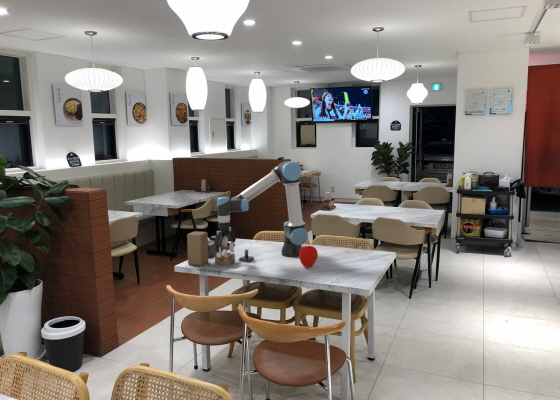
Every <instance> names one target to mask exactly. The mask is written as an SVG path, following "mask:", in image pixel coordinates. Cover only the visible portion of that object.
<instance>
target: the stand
mask: <svg viewBox="0 0 560 400" xmlns="http://www.w3.org/2000/svg"><path fill="white" fill-rule="evenodd" d="M254 260H255V257H254V256H250V255H249V249H244V256H243V255H242V256H241V257H239V258H238V262H244V263H250V262H253V261H254Z"/></svg>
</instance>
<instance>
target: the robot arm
mask: <svg viewBox="0 0 560 400" xmlns="http://www.w3.org/2000/svg"><path fill="white" fill-rule="evenodd" d="M301 175H302V170H301V167H300V165H299V164H298V163H297V162H295V161H292V160H291V161H290V160H284V161H282V162H281V163H279V164H278V165H277V166H275V167H273V169H271V172H269V173H268V174H267V175H265V176H264V177H262V178H260V179H259V180H258V181H256V182H255V183H253V184H252V185H250V186H248V187H247V188H246V189H245V190H243V191H242V192H240V193H239V194H237V195H236V196H233V197H231V199H230V197H229V196H220V197H219V196H218V197H217V199H216V208H217V227H218V229H219V230H216V232H215V238H214V241H213V247H214V248H215V249H216V250H215V251H216V254H217V257H220V258H221V252H222V248H221V244H222V242H223V239H224V238H225V237H227V239H228V240H229V241H230V242H229V253H234V252H235V243H236V240H237V239H236V236H235V233H234V230H233V227H231V222H230V221H231V214H230V213H236V212H238V213H239V212H247V211H249V209H250V207H249V204H250V203H249V202H250V201H252V200H253V199H254V198H256V197H257V196H259V195H260V194H262V193H264V192H265V191H266V190H267V189H269V188H271V187H272V186H273V185H275V184H276V183H277V182H279V183H281V182H282V185H284V188H285V195H286V197H285V198H286V203H287V212H288V220H287V221H285V222H284V223H283V245H282V249H281V256H284V257H288V258H298V257H299V252H300V249H301V248H302V247H303V245H304V244H306V243H307V241H308V239H309V232H308V231H307V229H306V228H307V227H306V222H305V221H304V220H303V215H302V214H303V213H302V204H301V196H300V187H299V186H300V185H299V184H300V183H301Z"/></svg>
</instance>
